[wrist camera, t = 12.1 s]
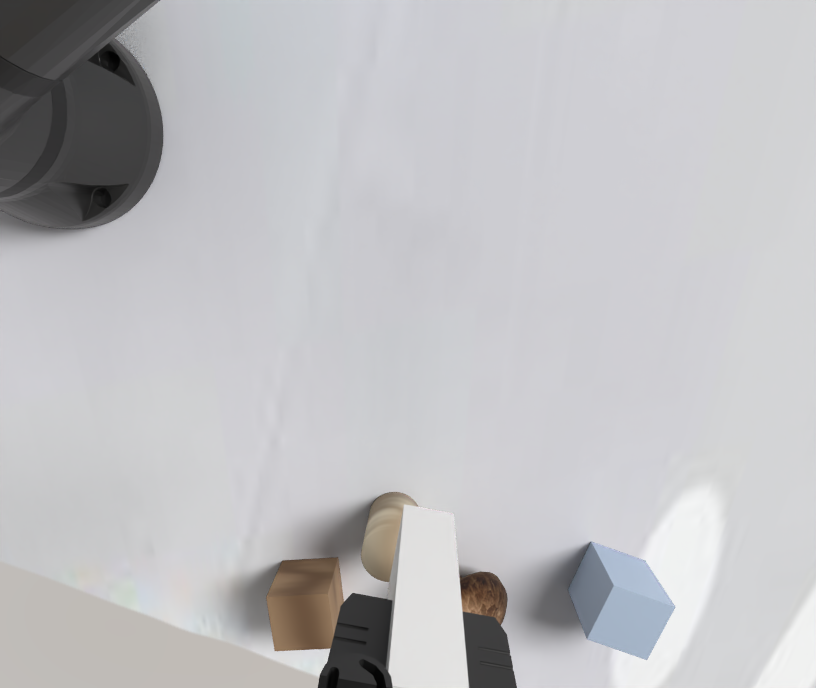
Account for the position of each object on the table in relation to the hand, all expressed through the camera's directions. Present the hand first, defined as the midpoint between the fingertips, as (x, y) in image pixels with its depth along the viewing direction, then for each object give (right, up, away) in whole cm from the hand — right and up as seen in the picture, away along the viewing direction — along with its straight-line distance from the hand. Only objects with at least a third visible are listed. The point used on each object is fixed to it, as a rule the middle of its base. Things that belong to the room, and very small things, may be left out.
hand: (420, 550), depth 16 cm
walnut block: (-9, -15, +33) cm, 37 cm away
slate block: (+17, -14, +31) cm, 38 cm away
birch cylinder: (-2, -9, +31) cm, 32 cm away
